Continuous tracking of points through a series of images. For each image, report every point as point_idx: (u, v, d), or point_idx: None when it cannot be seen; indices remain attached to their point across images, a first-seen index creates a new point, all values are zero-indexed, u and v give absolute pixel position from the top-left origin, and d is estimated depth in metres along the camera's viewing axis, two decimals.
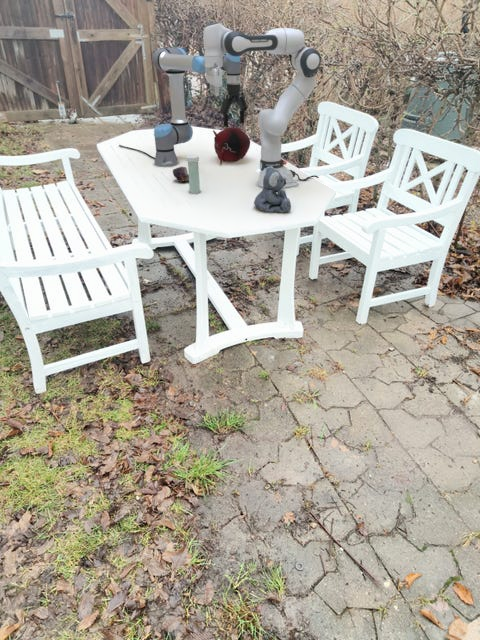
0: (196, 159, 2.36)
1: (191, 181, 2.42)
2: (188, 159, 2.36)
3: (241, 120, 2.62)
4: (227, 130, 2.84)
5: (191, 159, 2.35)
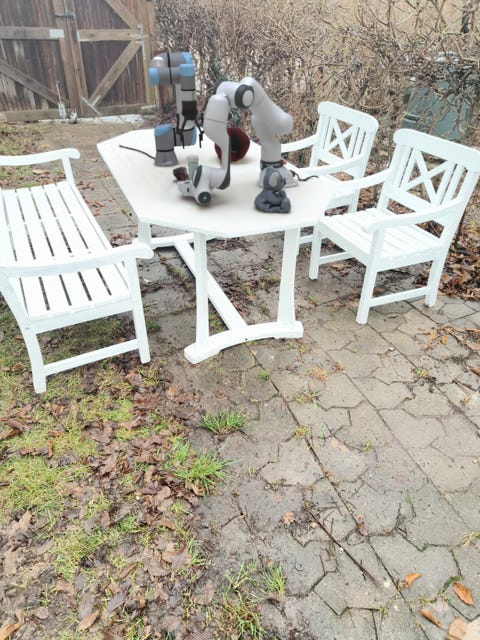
0: (196, 159, 2.36)
1: None
2: (188, 159, 2.36)
3: (184, 145, 2.33)
4: (227, 130, 2.84)
5: (192, 159, 2.35)
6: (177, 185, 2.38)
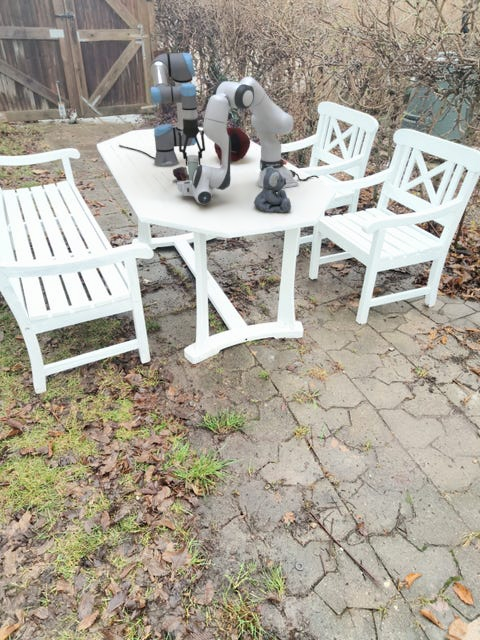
0: (196, 159, 2.36)
1: None
2: (188, 159, 2.36)
3: None
4: (227, 130, 2.84)
5: (191, 159, 2.35)
6: (177, 185, 2.38)
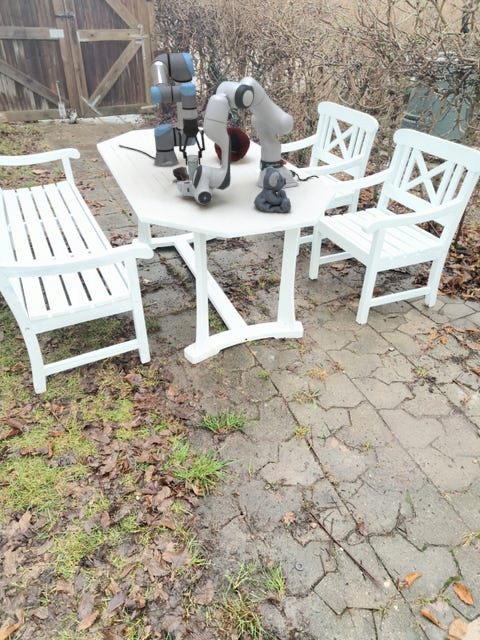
0: None
1: None
2: (198, 158, 2.37)
3: None
4: (227, 130, 2.84)
5: None
6: (177, 185, 2.38)
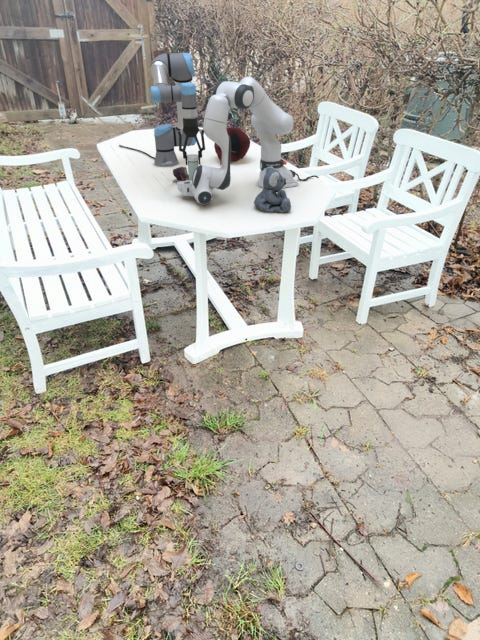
0: None
1: None
2: None
3: None
4: (227, 130, 2.84)
5: None
6: (177, 185, 2.38)
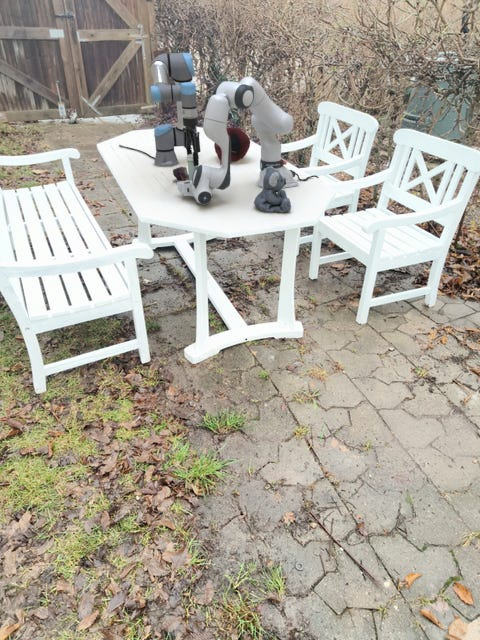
0: None
1: None
2: (187, 158, 2.36)
3: None
4: (227, 130, 2.84)
5: (190, 158, 2.35)
6: (177, 185, 2.38)
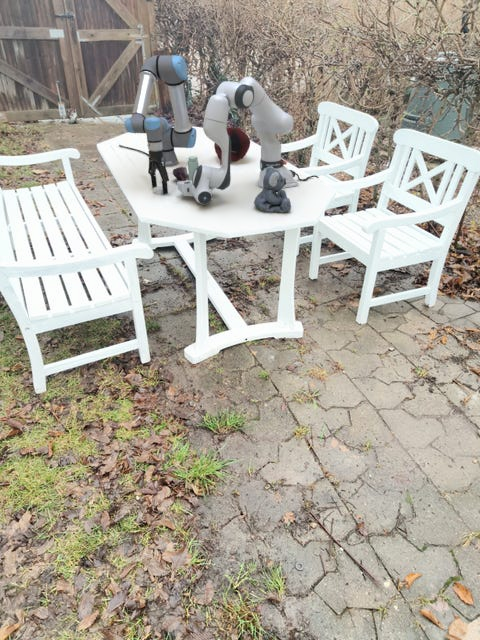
0: (162, 191, 2.46)
1: None
2: (155, 190, 2.46)
3: None
4: (227, 130, 2.84)
5: (158, 191, 2.46)
6: (177, 185, 2.38)
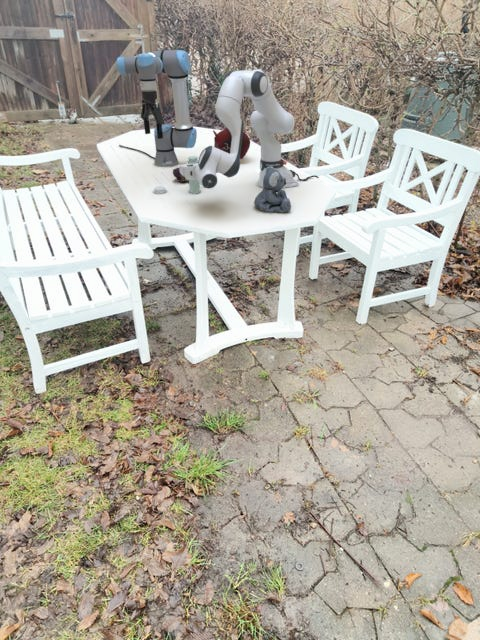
0: (162, 191, 2.46)
1: (191, 181, 2.42)
2: (155, 190, 2.46)
3: None
4: (227, 130, 2.84)
5: (158, 191, 2.46)
6: (179, 169, 2.20)
